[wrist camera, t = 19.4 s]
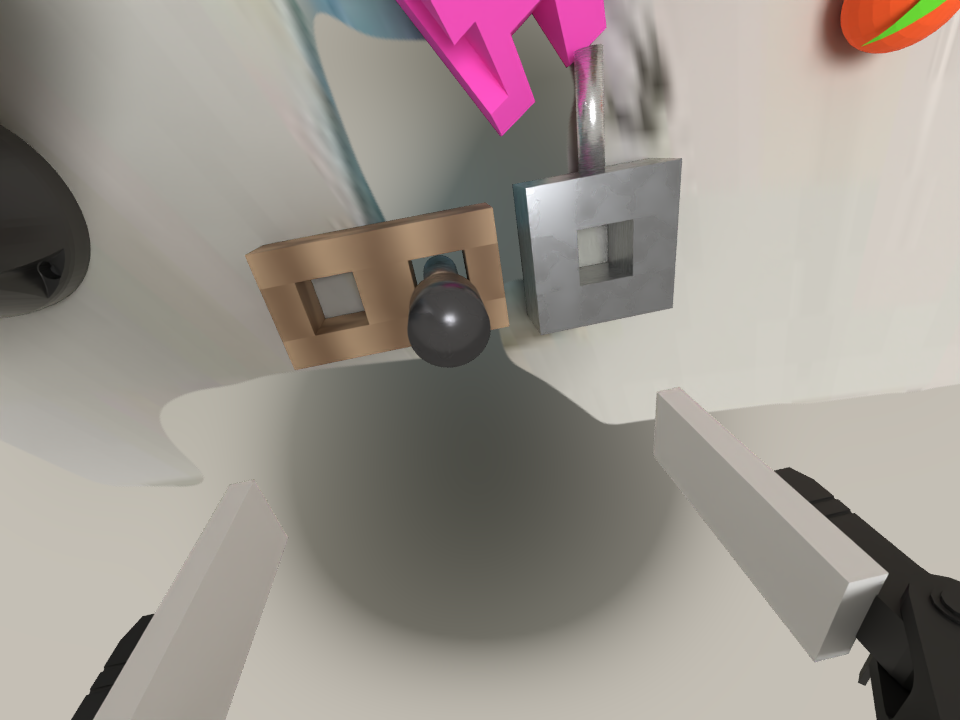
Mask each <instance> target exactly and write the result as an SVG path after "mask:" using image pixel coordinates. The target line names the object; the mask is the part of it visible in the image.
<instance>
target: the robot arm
mask: <svg viewBox="0 0 960 720" xmlns="http://www.w3.org/2000/svg"><path fill="white" fill-rule="evenodd" d="M89 261H90V238H89V233H88V228H87V225H86V222H85V219H84V216H83V214H82V211H81V209H80V207H79V205H78V203H77V201H76V199H75V198H74V196H73V194H72V193H71V191H70V190H69V188H68V187H67V185H66V184H65V182H64V181H63V180H62V178H61V177H60V176H59V175H58V173H57V172H56V171H55V170H54V169H53V168H52V167H51V165H50V164H49V163H48V162H47V161H46V160H45V159H44V158H43V157H42V156H41V155H40V154H38V153H37V152H36V151H35V150H34V149H33V148H32V147H31V146H29V145H28V144H27V143H26V142H24V141H23V140H22V139H21V138H19V137H18V136H17V135H15V134H14V133H12V132H11V131H9V130H8V129H6V128H5V127H3V126H1V125H0V318H4V317H13V316H19V315H24V314H28V313H31V312H34V311H37V310H40V309H42V308H45V307H47V306H50V305H52V304H55V303H57V302H59V301H61V300H63V299H64V298H66V297H67V296H69V295H70V294H71V293H72V292H74V291H75V290H76V288H77V287H78V286H79V285H80V283H81V282H82V280H83V279H84V277H85V274H86V272H87V269H88V266H89ZM654 457H655V458H656V460H657V461H658V462H659V463H660V465H661V466H662V467H663V469H664V470H665V471H666V472H667V474H668V475H669V476H670V478H671V479H672V480H673V481H674V483H675V484H676V485H677V487H678V488H679V489H680V491H681V492H682V493H683V494H684V496H685V497H686V498H687V499H688V501H689V502H690V503H691V505H692V506H693V507H694V508H695V510H696V511H697V512H698V513H699V515H700V516H701V517H702V519H703V520H704V521H705V523H706V524H707V525H708V526H709V528H710V529H711V530H712V532H713V533H714V534H715V535H716V536H717V538H718V539H719V540H720V542H721V543H722V544H723V545H724V547H725V548H726V549H727V550H728V552H729V553H730V555H731V556H732V557H733V558H734V560H735V561H736V562H737V564H738V565H739V566H740V567H741V569H742V570H743V571H744V572H745V574H746V575H747V576H748V578H749V579H750V580H751V582H752V583H753V584H754V585H755V587H756V588H757V589H758V591H759V592H760V593H761V594H762V596H763V597H764V598H765V600H766V601H767V602H768V603H769V605H770V606H771V607H772V608H773V610H774V611H775V612H776V614H777V615H778V616H779V617H780V619H781V620H782V621H783V623H784V624H785V625H786V626H787V627H788V629H789V630H790V632H791V633H792V634H793V635H794V637H795V638H796V639H797V640H798V642H799V643H800V644H801V645H802V647H803V648H804V649H805V651H806V652H807V653H808V654H809V656H810V657H811V658H812V660H813V661H814V662H818V661H821V660H825V659H829V658H833V657H838V656H842V655H846V654H848V653H849V652H850V650H851V647H852V646H853V644H854V642H855V640H856V638H857V639H858V640H859V641H860V642H861V644H862V645H863V646H864V647H865V648H866V649H867V650H868V651H869V652H870V655H869V657H868V659H867V660H866V662H865V664H864V666H863V668H862V669H861V671H860V674H859V681H858V683H860V684H862V685H866V684H867V682H868V680H869V679H870V677H871V684H872V690H873V697H874V703H875V711H876V718H877V720H960V581H957V580H954V579H952V578H949V577H944V576H938V575H933V574H930V573H928V572H927V571H926V570H924V569H923V568H921V567H920V566H919V565H917V564H916V563H915V562H914V561H912V560H911V559H910V558H909V557H908V556H906V555H905V554H904V553H903V552H901V551H900V550H899V549H898V548H897V547H895V546H894V545H893V544H892V543H891V542H889V541H888V540H887V539H886V538H884V537H883V536H882V535H881V534H879V533H878V532H877V531H876V530H875V529H873V528H872V527H871V526H870V525H869V524H867V523H866V522H865V521H864V520H862V519H861V518H860V517H859V516H858V515H856V514H855V513H851V511H850V509H849V508H848V507H847V506H845V505H844V504H843V503H842V502H840V501H839V500H838V499H835V498H834V496H833V495H832V494H831V493H829V492H828V491H827V490H826V489H824V488H823V487H822V486H821V485H820V484H819V483H817V482H816V481H815V480H814V479H812V478H810V477H808V476H806V475H804V474H802V473H799V472H798V471H795V470H794V469H792V468H790V467H789V468H784V469H779V470H776V471H773V470H772V469H771V468H770V467H769V466H768V465H766V464H765V463H764V462H763V461H762V460H761V459H760V458H759V457H757V456H756V455H755V454H754V453H753V452H752V451H751V450H750V449H748V448H747V447H746V446H745V445H744V444H743V443H741V441H739V440H738V439H737V438H736V437H735V436H734V435H733V434H732V433H730V432H729V431H728V430H727V429H726V428H725V427H724V426H723V425H721V424H720V423H719V422H718V421H717V420H716V419H715V418H714V417H712V416H711V415H710V414H709V413H708V412H707V411H706V410H705V409H703V408H702V407H701V406H700V405H699V404H698V403H697V402H696V401H694V400H693V399H692V398H691V397H690V396H689V395H688V394H687V393H685V392H684V391H683V390H682V389H681V388H680V387H677V388H672V389H668V390H663V391H658V392H657V397H656V417H655V436H654ZM287 540H288V536H287V535H286V533H285V531H284V530H283V528H282V526H281V524H280V523H279V521H278V519H277V517H276V516H275V514H274V512H273V511H272V509H271V507H270V505H269V504H268V502H267V500H266V498H265V497H264V495H263V493H262V492H261V490H260V488H259V487H258V485H257V483H256V482H255V480H254V479H253V480H249V481H244V482H239V483H235V484H230V485H229V487H228V489H227V490H226V492H225V494H224V496H223V497H222V499H221V501H220V503H219V504H218V506H217V507H216V509H215V511H214V513H213V515H212V516H211V518H210V519H209V521H208V523H207V525H206V526H205V528H204V530H203V532H202V533H201V535H200V537H199V539H198V540H197V542H196V544H195V545H194V547H193V549H192V551H191V552H190V554H189V556H188V557H187V559H186V561H185V562H184V564H183V566H182V568H181V569H180V571H179V573H178V575H177V576H176V578H175V580H174V581H173V583H172V585H171V587H170V589H169V590H168V592H167V594H166V595H165V597H164V599H163V600H162V602H161V604H160V606H159V607H158V609H157V611H156V612H155V614H151V615H147V616H142V618H141V619H140V620H139V621H138V622H137V623H136V624H135V625H134V626H133V627H132V628H131V630H130V631H129V632H128V633H127V634H126V635H125V636H124V637H123V638H122V639H121V640H120V642H119V643H118V645H117V647H116V648H115V650H114V651H113V653H112V655H111V656H110V658H109V660H108V661H107V663H106V664H105V666H104V671H103V672H101V673H100V674H99V676H98V677H97V679H96V680H95V682H94V684H93V685H92V687H91V688H90V694H89V695H86V697H85V698H84V700H83V701H82V703H81V705H80V706H79V708H78V710H77V711H76V713H75V714H74V716H73V718H72V719H71V720H225V719H226V716H227V713H228V710H229V707H230V705H231V701H232V699H233V696H234V693H235V690H236V687H237V684H238V681H239V678H240V676H241V673H242V670H243V667H244V664H245V661H246V658H247V655H248V652H249V650H250V647H251V644H252V641H253V638H254V635H255V632H256V629H257V627H258V624H259V621H260V618H261V615H262V612H263V609H264V606H265V603H266V601H267V598H268V595H269V592H270V589H271V586H272V583H273V580H274V578H275V575H276V572H277V569H278V566H279V563H280V560H281V557H282V554H283V552H284V549H285V546H286V543H287Z"/></svg>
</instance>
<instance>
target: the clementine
mask: <svg viewBox="0 0 960 720" xmlns="http://www.w3.org/2000/svg"><path fill="white" fill-rule="evenodd" d="M959 9H960V0H844V2H843V5H842V10H841V28H842V32H843V34H844V36H845V38H846V39H847V41H848V42H849V44H850V45H851V46H853V47H854V48H856V49H858V50H861V51H863V52H867V53H875V54H876V53H888V52H892V51H897V50H900V49H903V48H905V47H908V46H911V45H913V44H915V43H917V42H919V41H921V40H923V39H924V38H926V37H927V36H929V35H930V34H932V33H933V32H935V31H936V30H938V29H939V28H940V27H941V26H943V25H944V24H945V23H946V22H947V21H948V20H949V19H950V18H951V17H952V16H953V15H954V14H955V13H956V12H957V11H958V10H959Z"/></svg>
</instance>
